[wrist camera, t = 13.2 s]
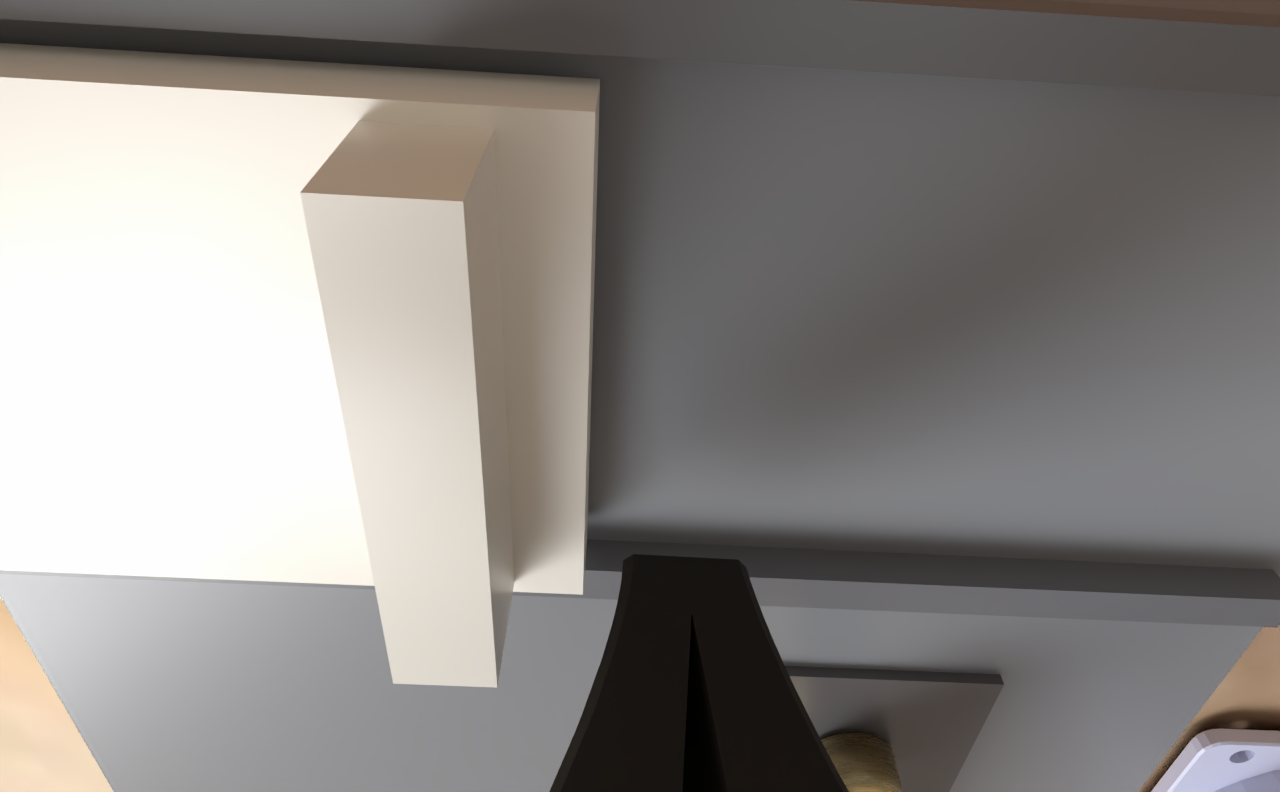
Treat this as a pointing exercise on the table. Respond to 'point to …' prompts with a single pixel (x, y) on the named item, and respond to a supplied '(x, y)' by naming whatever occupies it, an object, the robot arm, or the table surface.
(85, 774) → the table surface
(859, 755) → the key
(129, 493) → the cover
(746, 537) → the case
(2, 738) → the table surface
